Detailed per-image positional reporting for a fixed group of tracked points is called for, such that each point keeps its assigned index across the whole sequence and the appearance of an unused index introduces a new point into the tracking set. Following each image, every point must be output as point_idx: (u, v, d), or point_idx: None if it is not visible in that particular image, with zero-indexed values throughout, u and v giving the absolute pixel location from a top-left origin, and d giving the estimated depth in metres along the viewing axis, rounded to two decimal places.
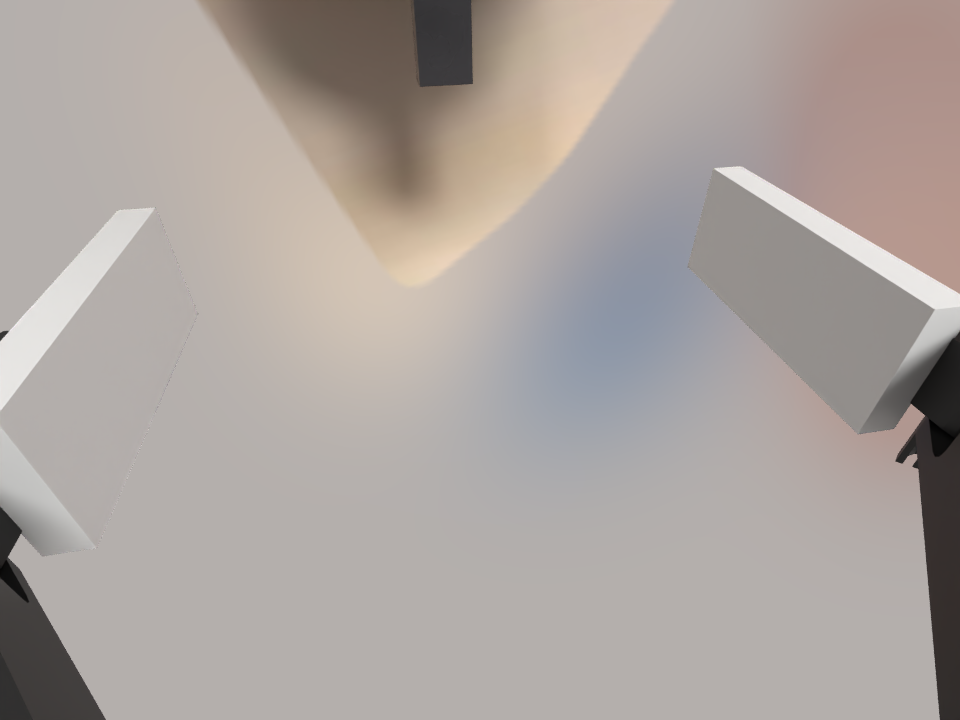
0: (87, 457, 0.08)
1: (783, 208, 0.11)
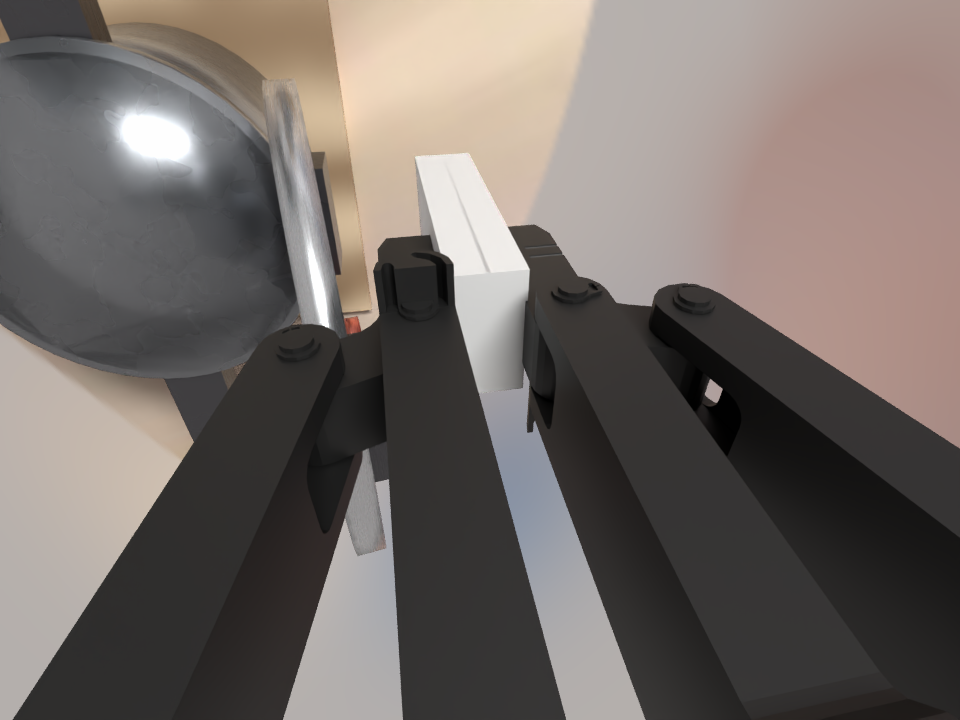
0: None
1: (461, 189, 0.12)
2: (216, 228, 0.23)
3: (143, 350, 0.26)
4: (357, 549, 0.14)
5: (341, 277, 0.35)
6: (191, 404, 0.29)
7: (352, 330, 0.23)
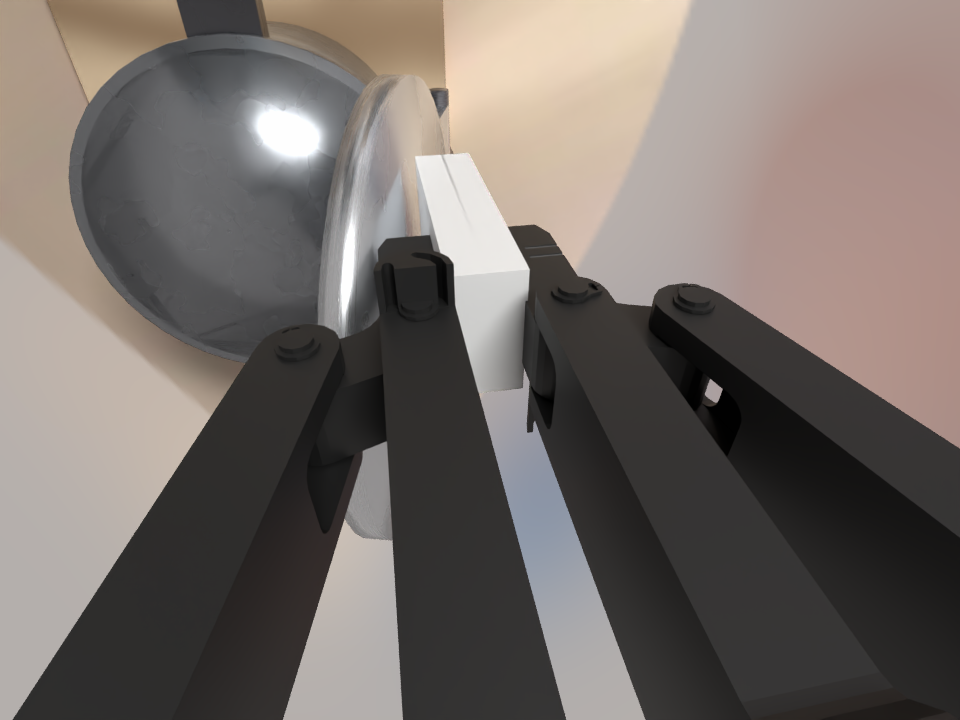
0: None
1: (460, 189, 0.12)
2: None
3: None
4: (356, 531, 0.14)
5: None
6: None
7: None
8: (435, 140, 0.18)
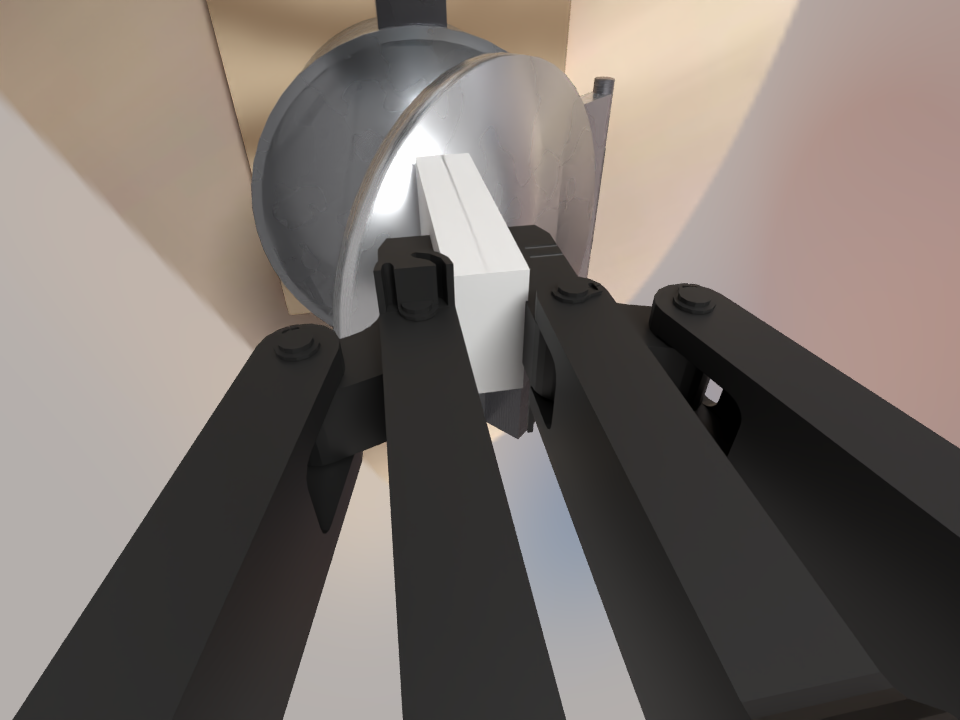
0: None
1: (461, 189, 0.12)
2: None
3: None
4: None
5: None
6: None
7: None
8: (569, 122, 0.20)
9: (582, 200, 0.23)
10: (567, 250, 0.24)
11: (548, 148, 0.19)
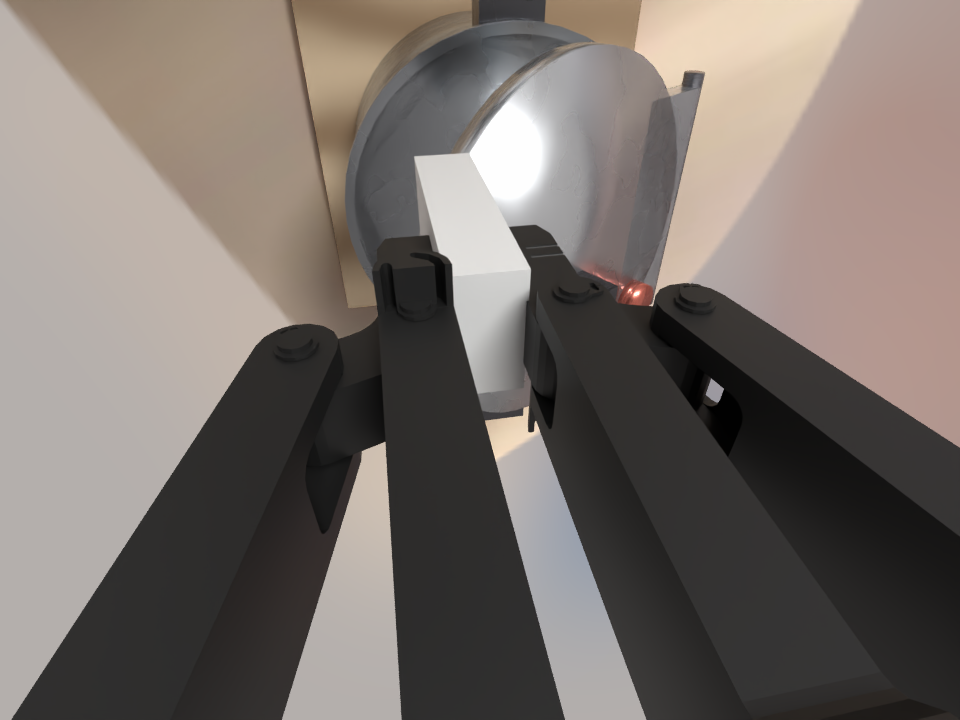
0: None
1: (462, 189, 0.12)
2: None
3: None
4: None
5: None
6: None
7: (632, 291, 0.25)
8: (653, 113, 0.20)
9: (660, 191, 0.24)
10: (641, 240, 0.24)
11: (629, 136, 0.20)
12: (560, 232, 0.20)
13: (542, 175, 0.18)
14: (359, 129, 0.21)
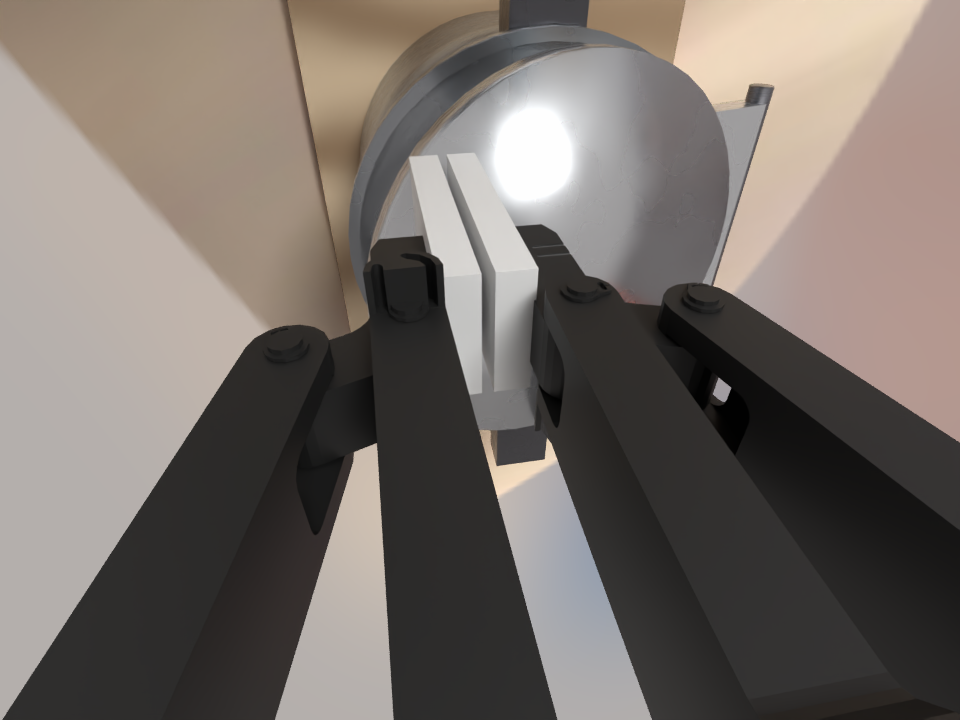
0: None
1: (467, 189, 0.12)
2: None
3: None
4: None
5: None
6: None
7: None
8: (689, 129, 0.18)
9: (704, 220, 0.21)
10: (674, 272, 0.22)
11: (653, 154, 0.18)
12: None
13: (524, 187, 0.16)
14: (365, 153, 0.18)
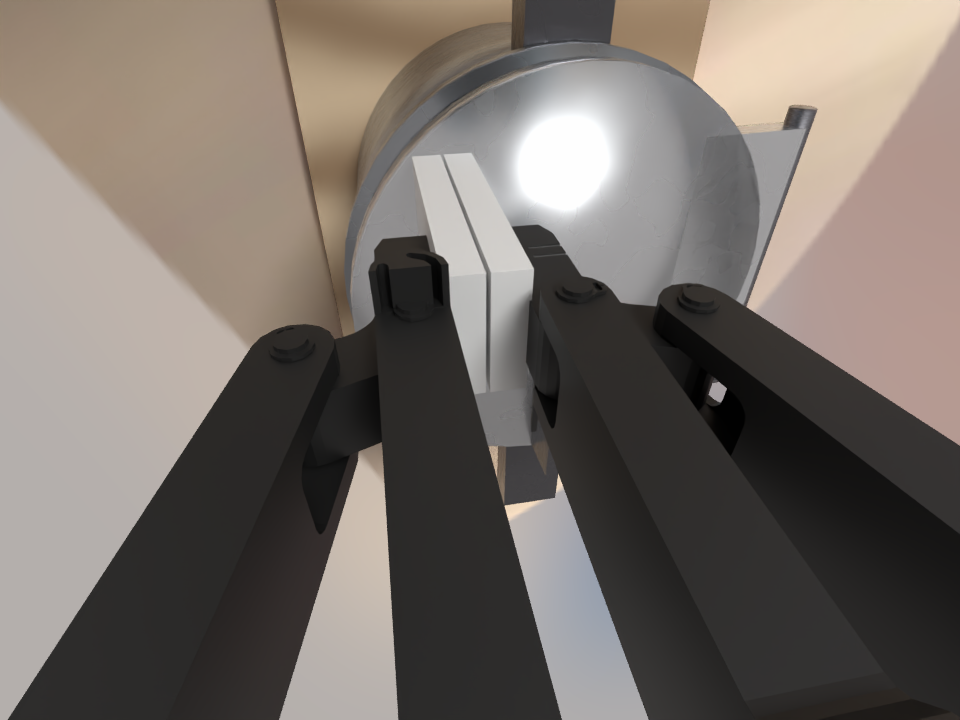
0: None
1: (464, 189, 0.12)
2: None
3: None
4: None
5: None
6: (521, 448, 0.26)
7: None
8: (709, 152, 0.16)
9: (728, 250, 0.19)
10: None
11: (664, 176, 0.16)
12: None
13: (513, 201, 0.16)
14: (363, 184, 0.16)
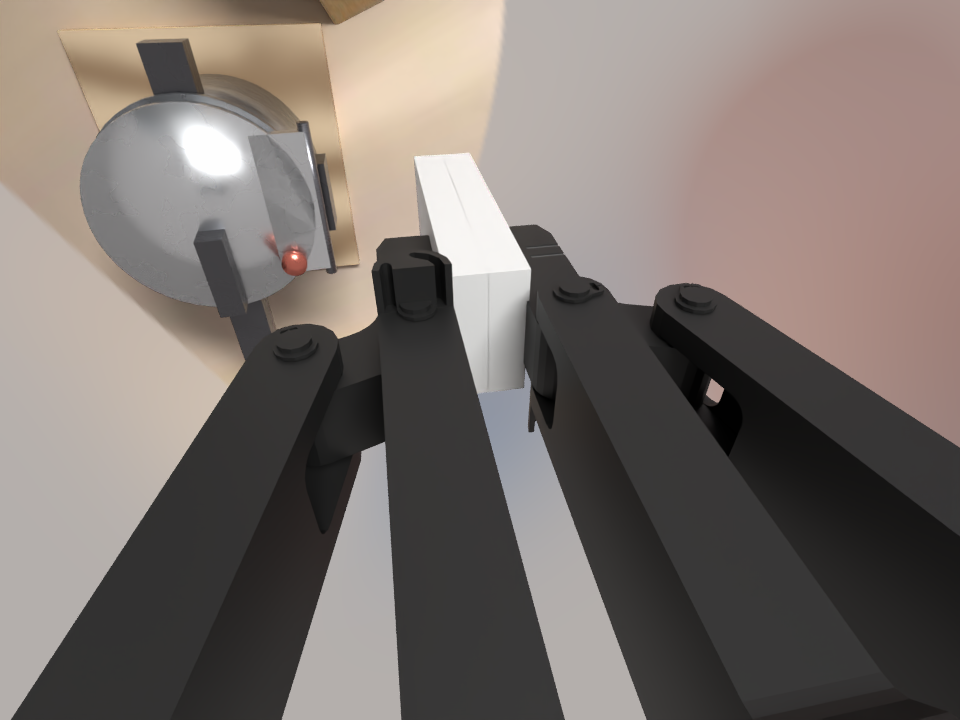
0: None
1: (462, 189, 0.12)
2: None
3: None
4: None
5: (337, 240, 0.50)
6: (240, 318, 0.44)
7: (284, 255, 0.39)
8: (252, 143, 0.35)
9: (294, 193, 0.37)
10: (287, 222, 0.38)
11: (233, 154, 0.35)
12: (187, 200, 0.36)
13: (154, 165, 0.34)
14: None
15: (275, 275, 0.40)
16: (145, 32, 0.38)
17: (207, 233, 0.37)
